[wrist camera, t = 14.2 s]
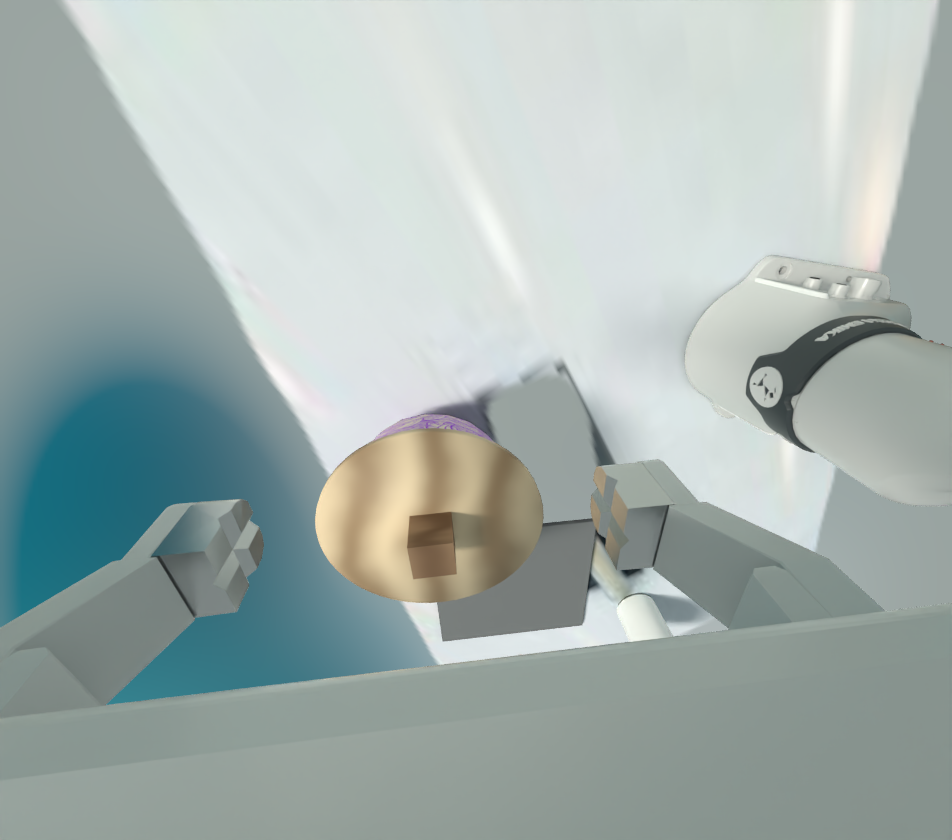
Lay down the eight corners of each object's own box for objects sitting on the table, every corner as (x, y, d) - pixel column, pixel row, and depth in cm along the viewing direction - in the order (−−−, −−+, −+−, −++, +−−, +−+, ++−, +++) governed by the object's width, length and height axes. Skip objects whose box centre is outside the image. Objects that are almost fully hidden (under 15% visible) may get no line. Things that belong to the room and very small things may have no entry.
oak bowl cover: (544, 416, 35) (559, 446, 31) (539, 584, 46) (549, 623, 42) (288, 441, 34) (268, 475, 30) (345, 607, 45) (336, 649, 41)
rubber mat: (595, 518, 58) (596, 521, 57) (581, 621, 69) (582, 625, 69) (428, 535, 56) (428, 538, 56) (442, 638, 68) (442, 641, 67)
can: (656, 607, 69) (696, 680, 59) (621, 621, 70) (654, 695, 60) (647, 587, 66) (687, 660, 56) (610, 601, 67) (643, 675, 57)
